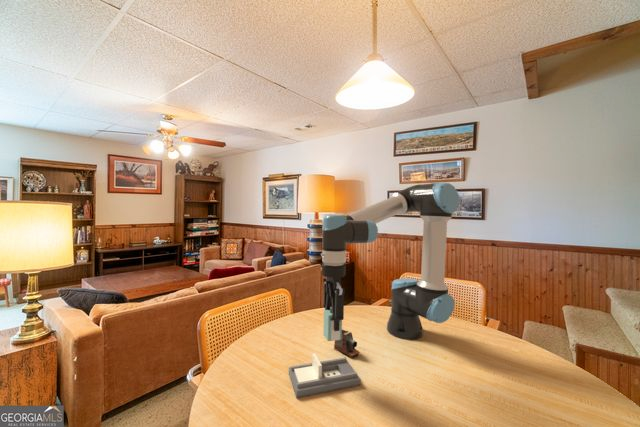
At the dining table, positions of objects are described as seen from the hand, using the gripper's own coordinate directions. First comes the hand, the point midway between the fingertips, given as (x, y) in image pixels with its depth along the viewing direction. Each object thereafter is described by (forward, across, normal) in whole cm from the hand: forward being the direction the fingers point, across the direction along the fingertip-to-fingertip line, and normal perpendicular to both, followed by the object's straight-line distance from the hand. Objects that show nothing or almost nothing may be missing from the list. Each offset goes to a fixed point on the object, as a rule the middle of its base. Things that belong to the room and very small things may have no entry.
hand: (332, 335), depth 87 cm
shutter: (+11, 0, -8) cm, 14 cm away
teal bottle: (0, 0, 0) cm, 0 cm away
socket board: (+14, 0, -3) cm, 14 cm away
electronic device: (+14, -13, +11) cm, 22 cm away
